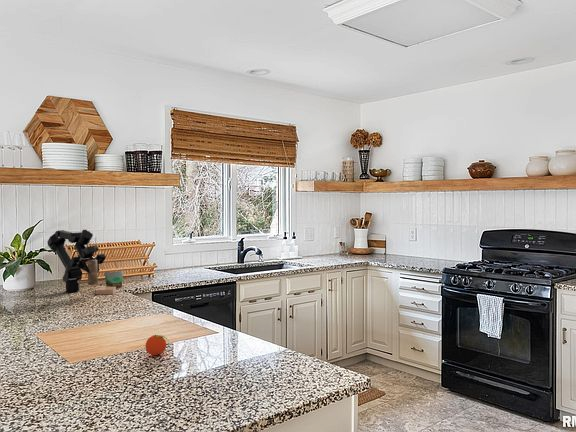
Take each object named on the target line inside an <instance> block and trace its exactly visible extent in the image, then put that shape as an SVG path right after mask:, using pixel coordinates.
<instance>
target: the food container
mask: <svg viewBox="0 0 576 432" xmlns="http://www.w3.org/2000/svg"><path fill="white" fill-rule="evenodd" d="M124 274H125V273H124V270H123V269H120V271H119V270H118V271H116V270H115V271H104V274H103V276H104V278H105V279H104V280H105V287H116V289H121V288H122V287H123V276H124Z"/></svg>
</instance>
